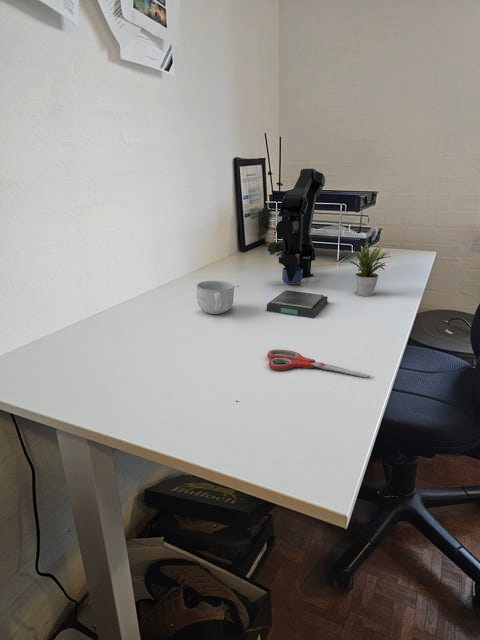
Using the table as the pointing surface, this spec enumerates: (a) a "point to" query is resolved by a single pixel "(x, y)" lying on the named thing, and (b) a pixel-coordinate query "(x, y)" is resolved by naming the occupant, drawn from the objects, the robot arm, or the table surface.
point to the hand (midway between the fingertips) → (292, 278)
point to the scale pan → (298, 299)
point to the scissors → (302, 362)
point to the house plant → (367, 270)
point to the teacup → (215, 296)
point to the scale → (297, 308)
